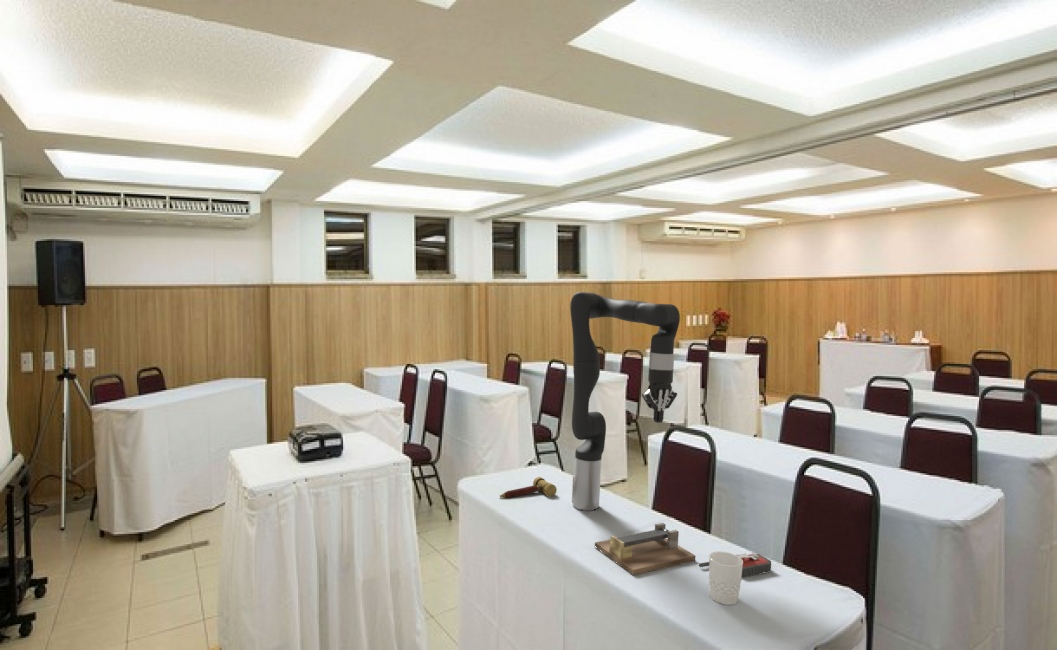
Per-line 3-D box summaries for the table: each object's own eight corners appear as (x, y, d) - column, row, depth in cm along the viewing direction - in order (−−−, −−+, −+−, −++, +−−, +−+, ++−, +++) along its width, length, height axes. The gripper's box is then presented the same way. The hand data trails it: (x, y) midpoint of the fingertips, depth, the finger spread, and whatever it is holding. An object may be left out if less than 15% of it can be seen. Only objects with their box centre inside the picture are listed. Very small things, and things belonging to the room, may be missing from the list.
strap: (615, 542, 159) (615, 536, 159) (664, 532, 167) (664, 526, 167) (623, 548, 156) (623, 541, 156) (672, 537, 164) (673, 531, 164)
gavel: (505, 494, 197) (493, 485, 206) (506, 507, 198) (494, 498, 206) (556, 483, 207) (543, 475, 216) (556, 495, 208) (543, 487, 216)
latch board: (594, 547, 165) (595, 525, 164) (653, 535, 175) (654, 515, 175) (633, 575, 149) (634, 551, 148) (695, 560, 159) (696, 538, 159)
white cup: (722, 609, 134) (725, 568, 134) (700, 592, 141) (702, 553, 141) (747, 603, 137) (750, 563, 137) (724, 587, 144) (726, 549, 144)
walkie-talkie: (752, 558, 163) (696, 568, 155) (753, 543, 163) (697, 552, 155) (776, 572, 155) (718, 583, 147) (777, 557, 154) (719, 567, 147)
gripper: (669, 365, 182) (666, 418, 183) (636, 366, 176) (633, 420, 177) (685, 368, 176) (682, 423, 177) (652, 369, 170) (649, 426, 170)
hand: (658, 422), depth 177 cm, fingers closed
